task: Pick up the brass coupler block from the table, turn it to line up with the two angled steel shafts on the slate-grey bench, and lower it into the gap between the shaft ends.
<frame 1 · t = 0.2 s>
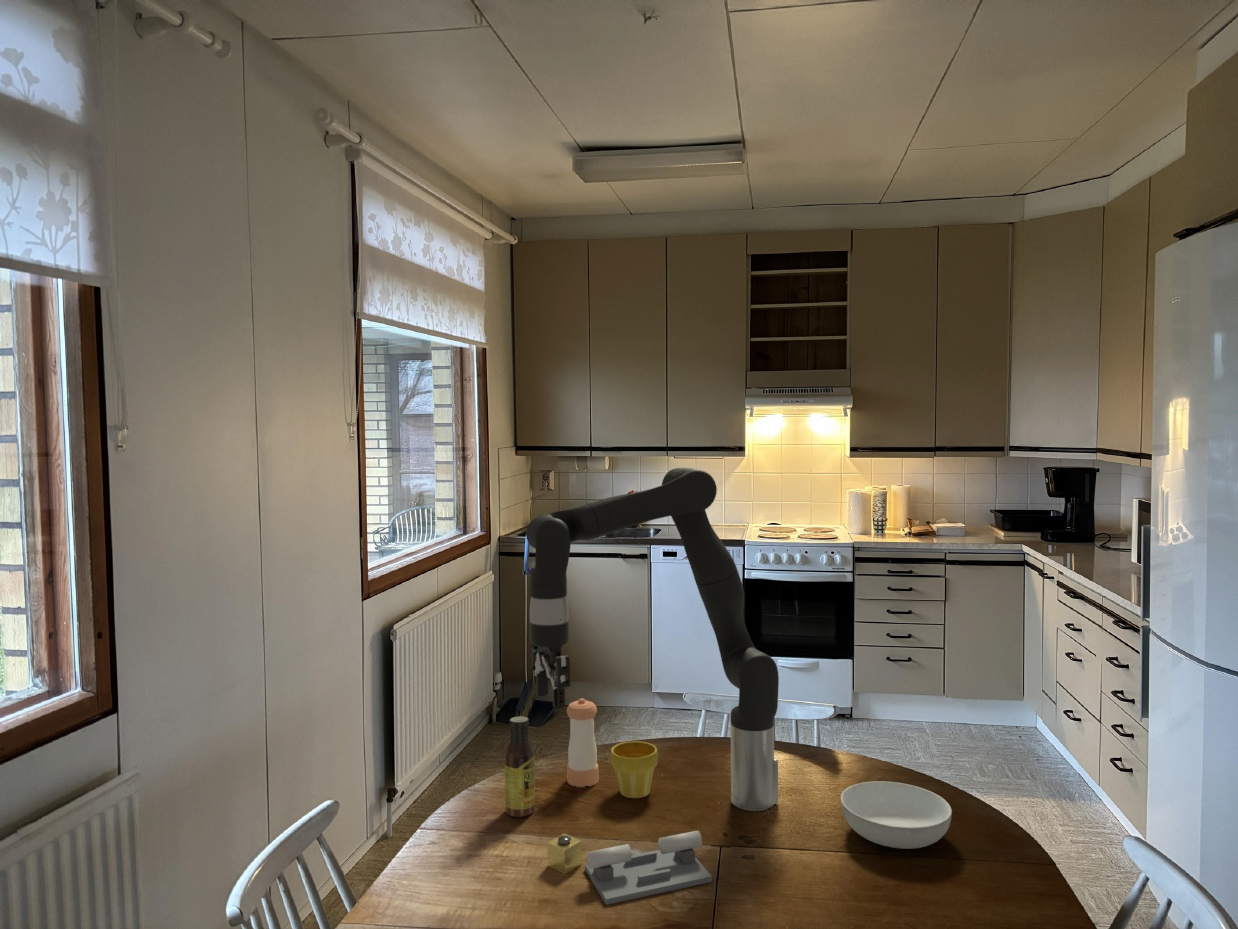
hand: (550, 701, 160), 28 cm above the table, tool pointing down, fingers open, 8 cm apart
pepper shaker: (582, 781, 189), on the table
coupler: (564, 865, 153), on the table
sauce bottle: (520, 812, 174), on the table
plant pot: (634, 793, 183), on the table
serving bowl: (894, 837, 162), on the table
bench: (647, 875, 148), on the table
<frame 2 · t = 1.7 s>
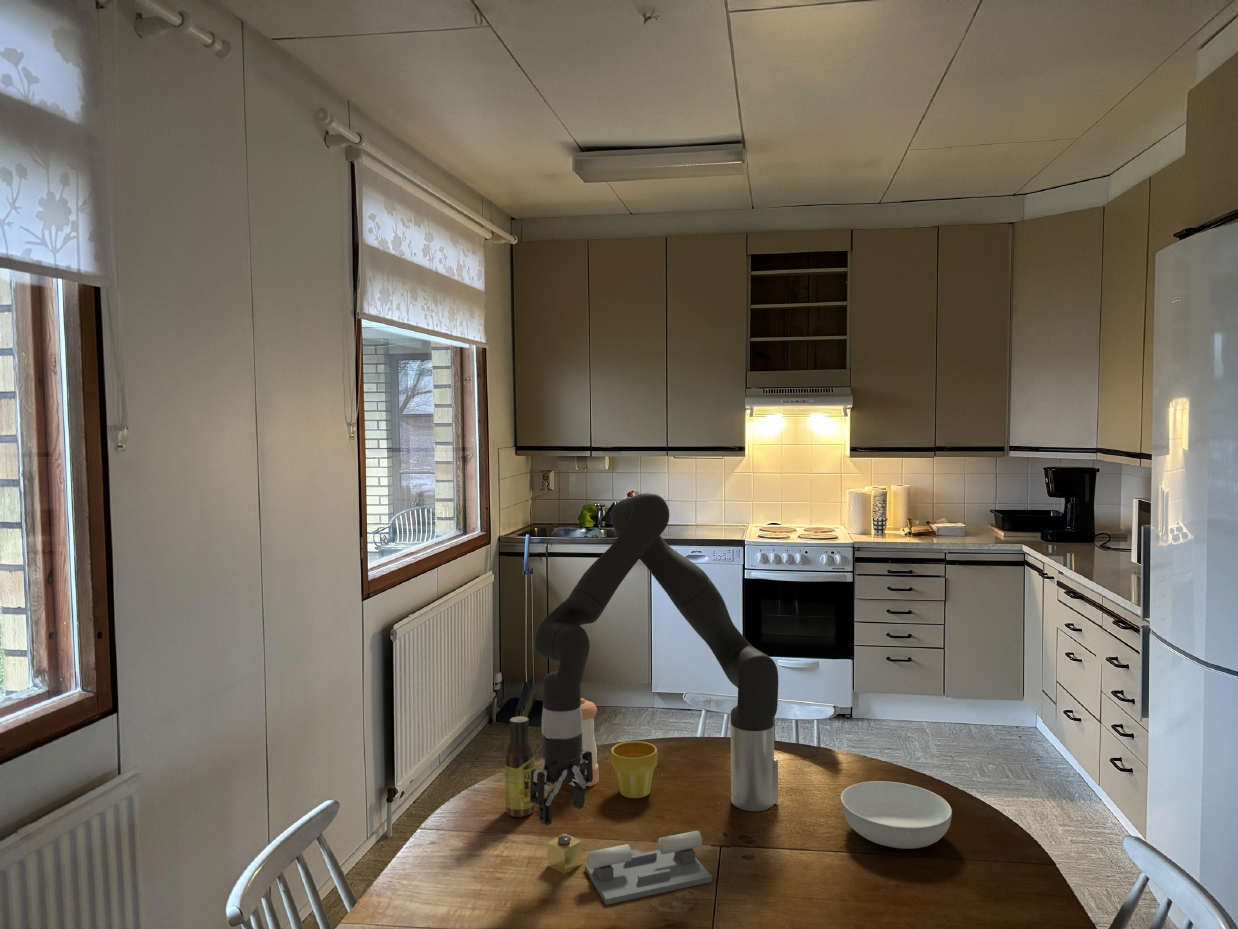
hand: (562, 815, 152), 9 cm above the table, tool pointing down, fingers open, 8 cm apart
nothing on the table moved.
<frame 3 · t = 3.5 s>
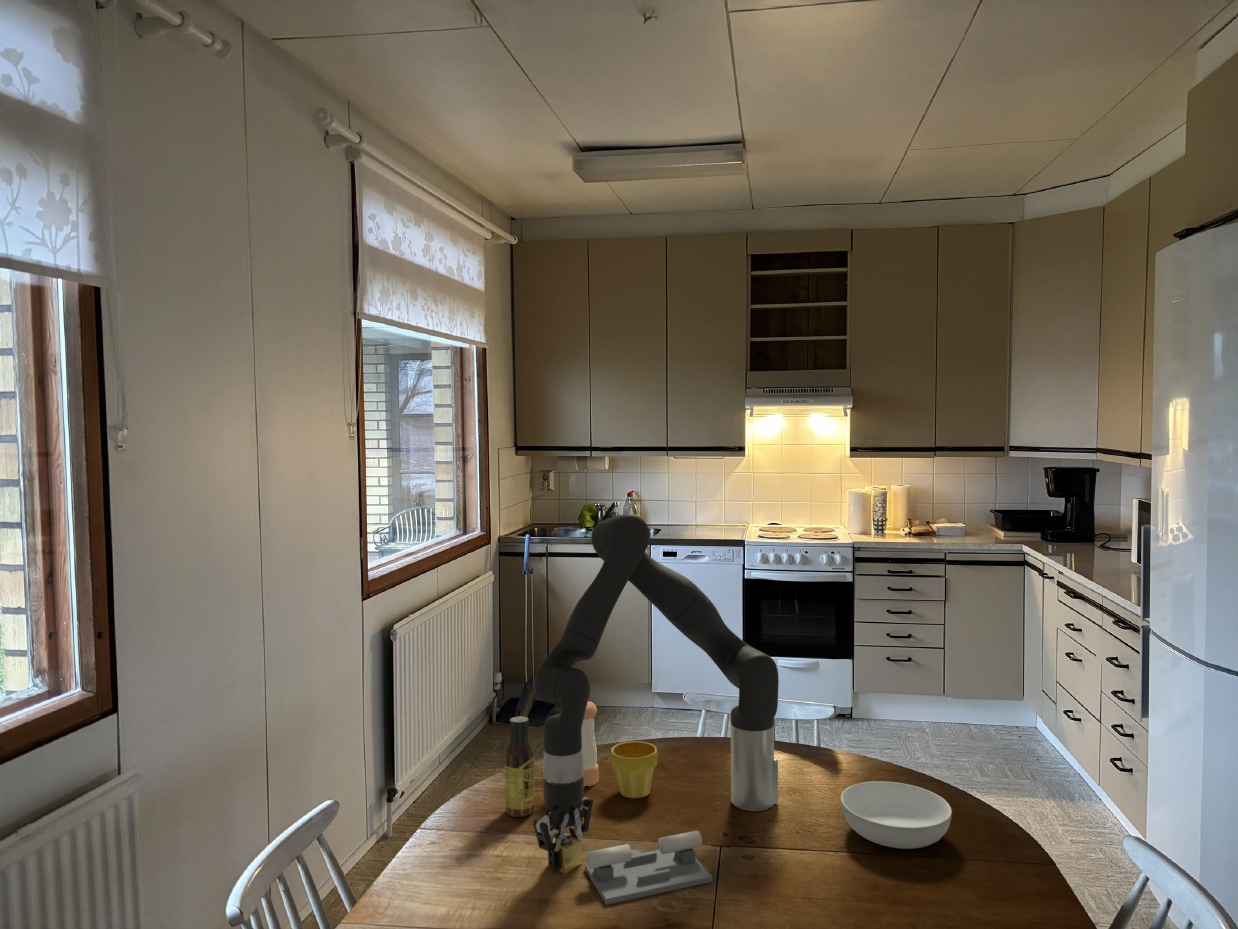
hand: (564, 862, 153), 0 cm above the table, tool pointing down, fingers closed on coupler, 4 cm apart
coupler: (564, 864, 153), on the table, touching gripper
everything else where it was.
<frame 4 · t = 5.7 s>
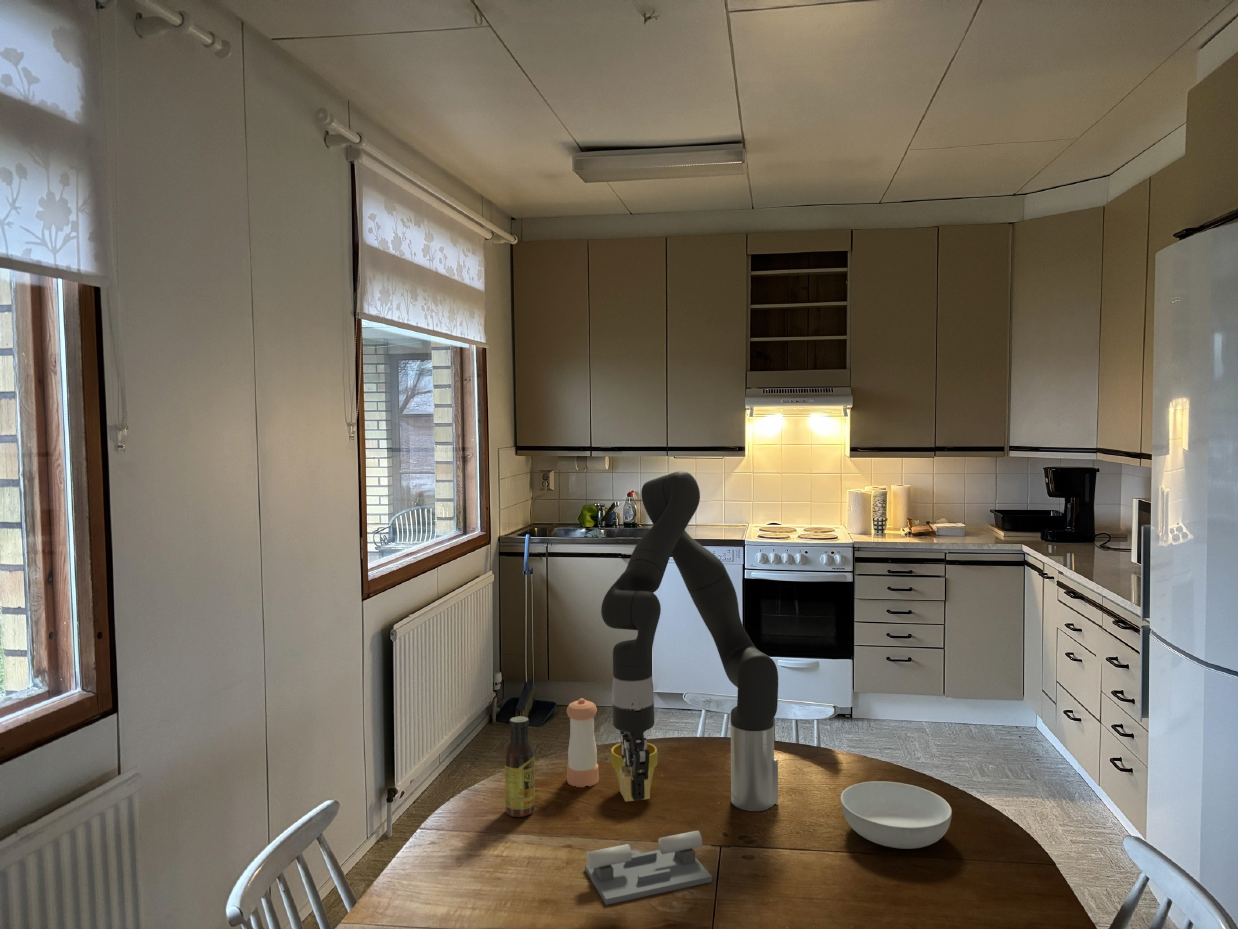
hand: (635, 792, 149), 15 cm above the table, tool pointing down, fingers closed on coupler, 4 cm apart
coupler: (634, 794, 149), point 15 cm above the table, touching gripper
everything else where it was.
when the fingers open (3 cm above the table, at t = 8.2 s): coupler drops 1 cm, resting on bench.
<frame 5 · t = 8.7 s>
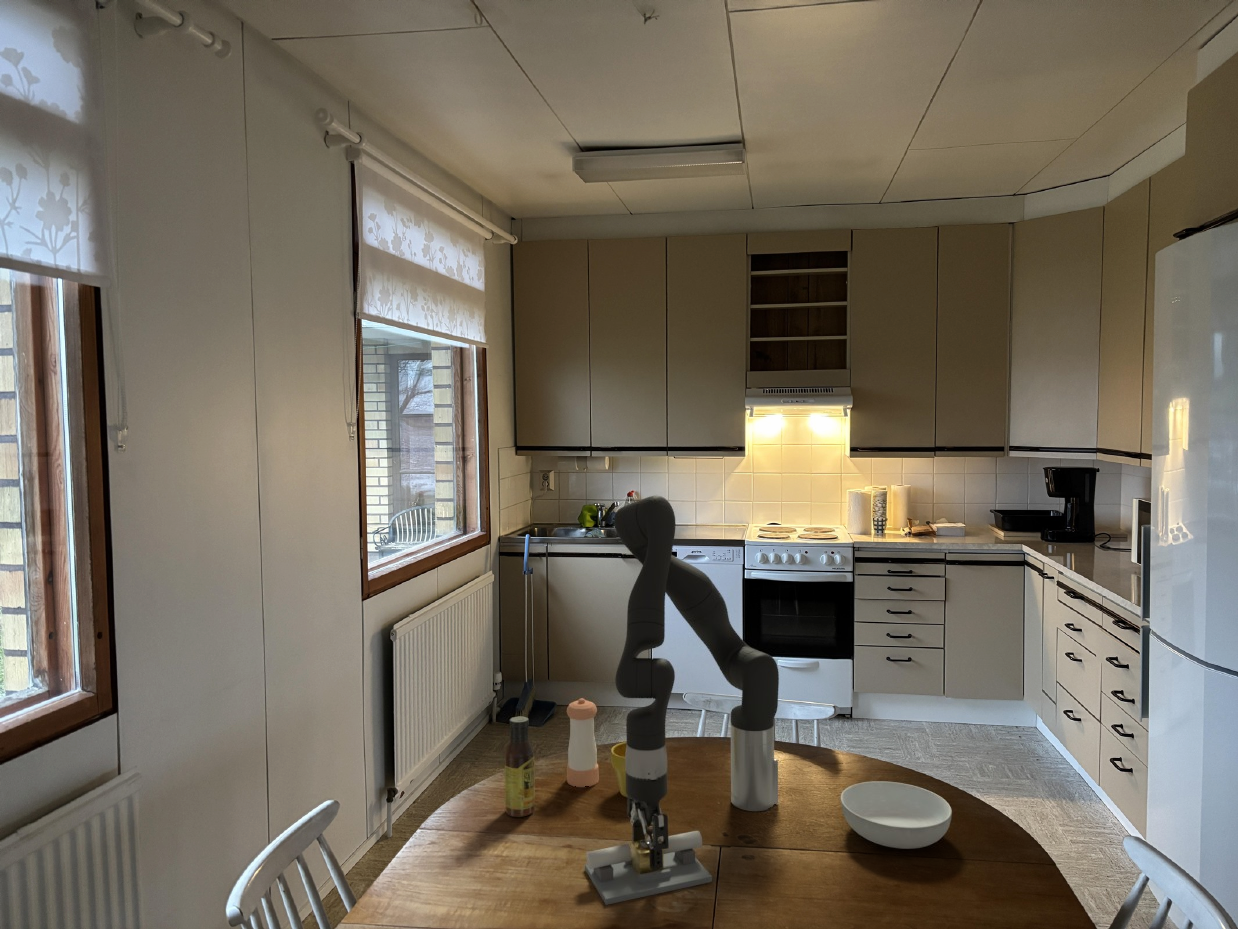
hand: (647, 856, 148), 4 cm above the table, tool pointing down, fingers open, 8 cm apart
coupler: (647, 870, 148), point 1 cm above the table, touching bench
everything else where it was.
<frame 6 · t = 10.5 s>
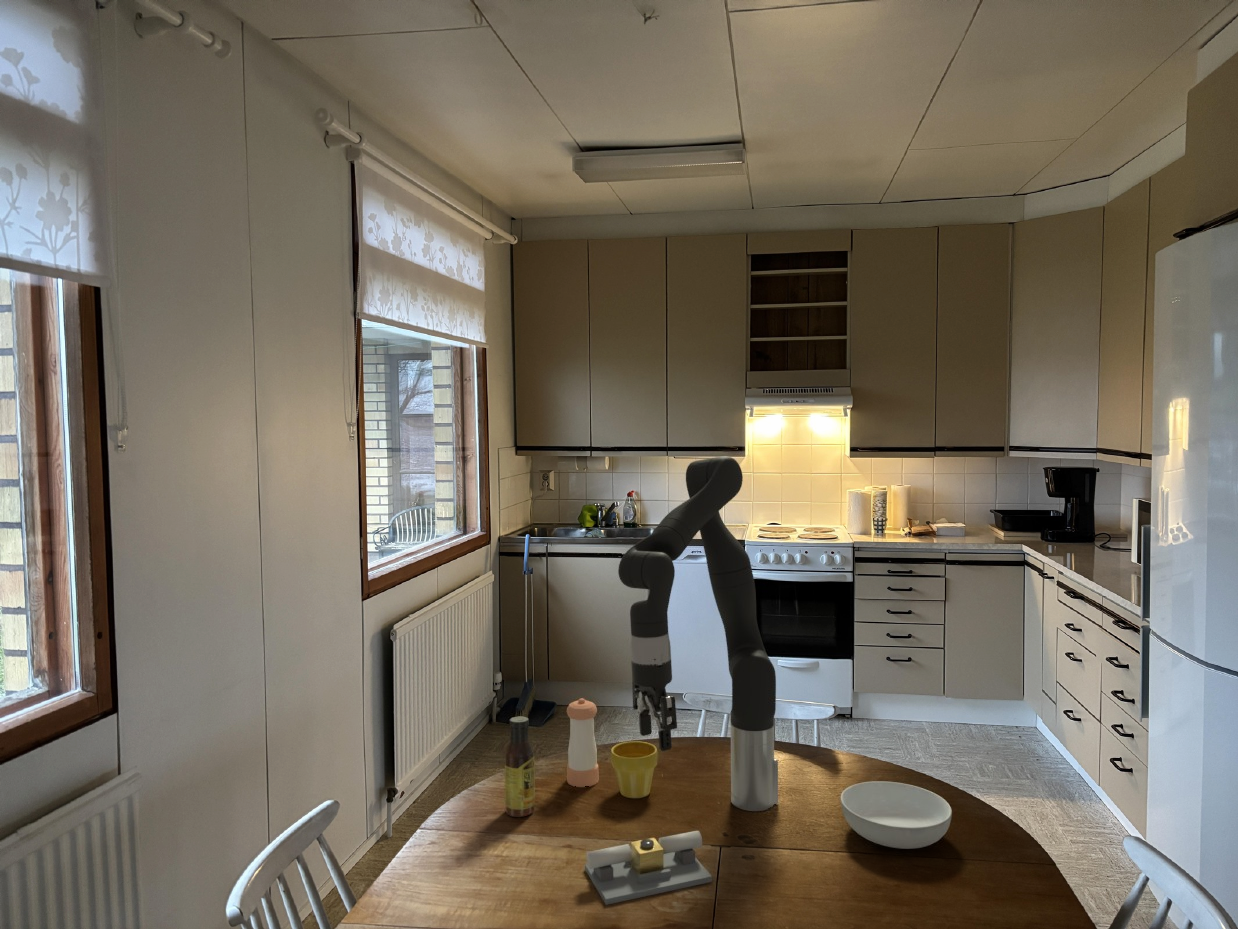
hand: (655, 742, 154), 22 cm above the table, tool pointing down, fingers open, 8 cm apart
nothing on the table moved.
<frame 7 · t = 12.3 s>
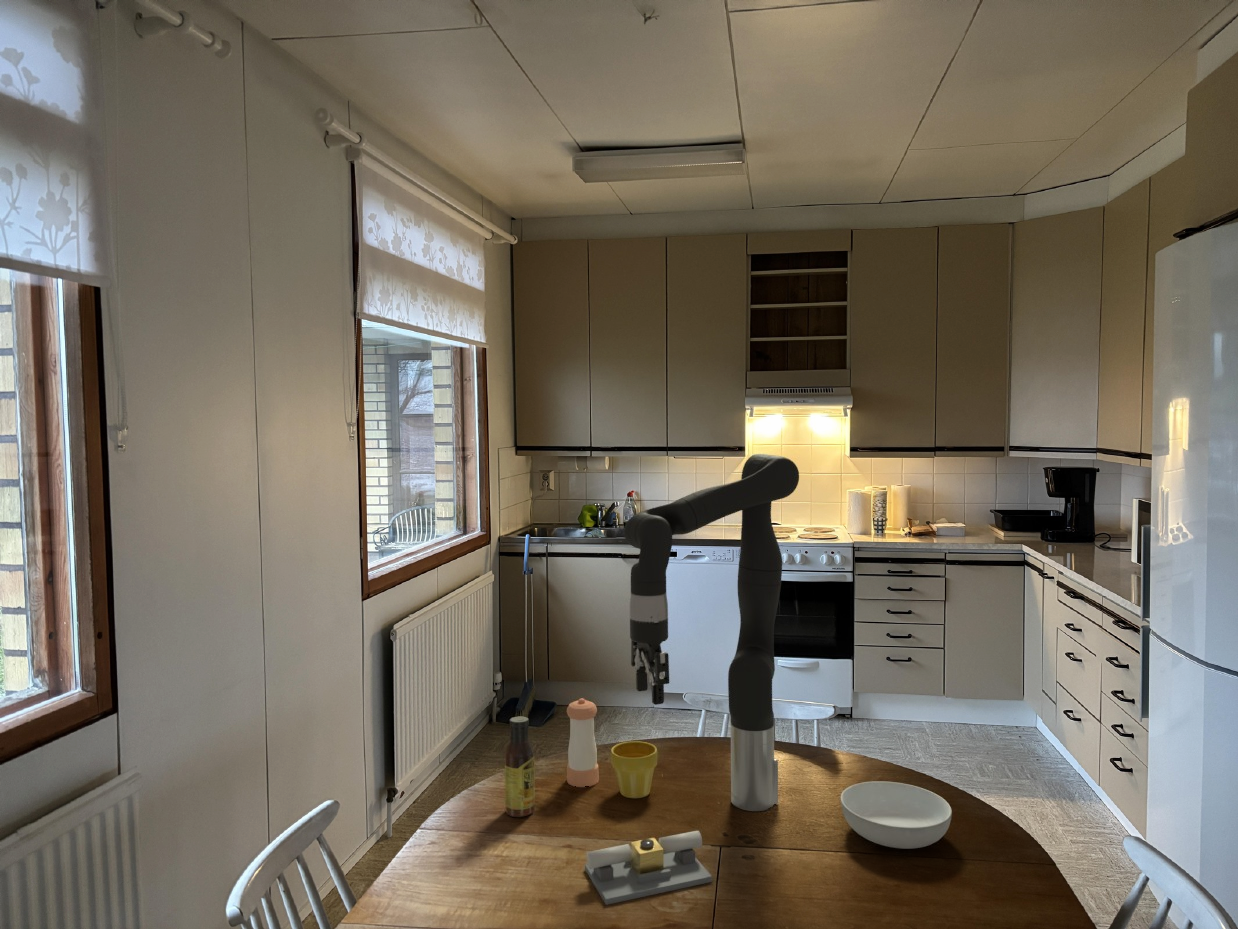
hand: (649, 697, 162), 28 cm above the table, tool pointing down, fingers open, 8 cm apart
nothing on the table moved.
at the end: coupler 0.1 cm off-centre on the bench, point 1.0 cm above the bench's base; coupler tilted 0°; the gripper is holding nothing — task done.
